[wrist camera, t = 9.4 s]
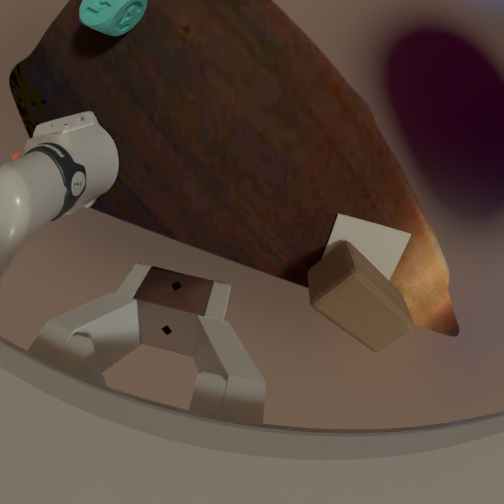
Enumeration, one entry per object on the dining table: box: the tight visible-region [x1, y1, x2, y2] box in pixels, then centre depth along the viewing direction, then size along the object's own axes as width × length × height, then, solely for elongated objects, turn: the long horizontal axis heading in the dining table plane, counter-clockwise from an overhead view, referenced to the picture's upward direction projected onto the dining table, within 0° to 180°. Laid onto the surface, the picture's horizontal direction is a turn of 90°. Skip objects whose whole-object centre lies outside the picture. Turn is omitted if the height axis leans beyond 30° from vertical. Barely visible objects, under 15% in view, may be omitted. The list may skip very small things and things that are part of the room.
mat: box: [322, 214, 411, 281], centre depth 51 cm, size 15×12×1 cm
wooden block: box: [307, 240, 414, 352], centre depth 50 cm, size 10×10×20 cm
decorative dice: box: [79, 0, 147, 37], centre depth 29 cm, size 8×8×8 cm
